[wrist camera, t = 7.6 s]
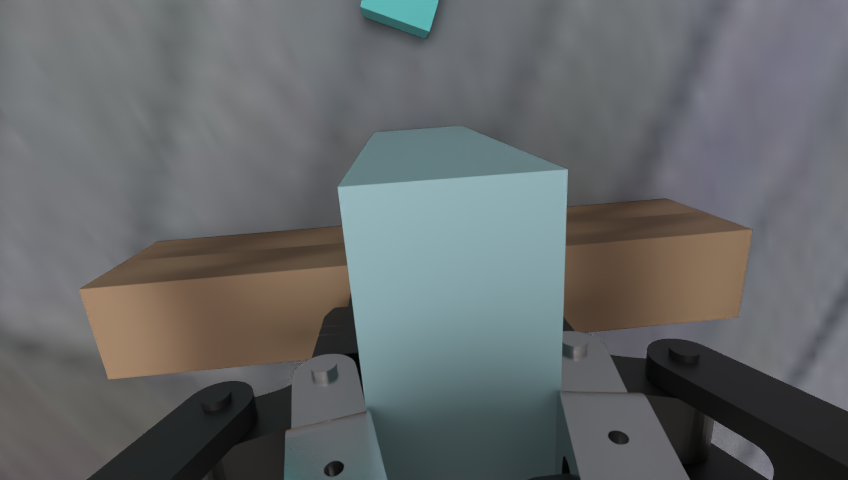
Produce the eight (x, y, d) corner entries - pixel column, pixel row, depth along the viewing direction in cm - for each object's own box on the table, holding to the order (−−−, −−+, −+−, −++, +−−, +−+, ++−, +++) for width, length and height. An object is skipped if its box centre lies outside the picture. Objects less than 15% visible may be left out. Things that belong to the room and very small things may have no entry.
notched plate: (461, 125, 15) (567, 169, 6) (471, 375, 18) (552, 671, 9) (374, 131, 15) (337, 186, 6) (398, 382, 18) (401, 689, 9)
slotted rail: (666, 198, 18) (752, 229, 14) (659, 267, 19) (738, 317, 15) (157, 241, 17) (79, 289, 13) (175, 312, 18) (108, 379, 14)
